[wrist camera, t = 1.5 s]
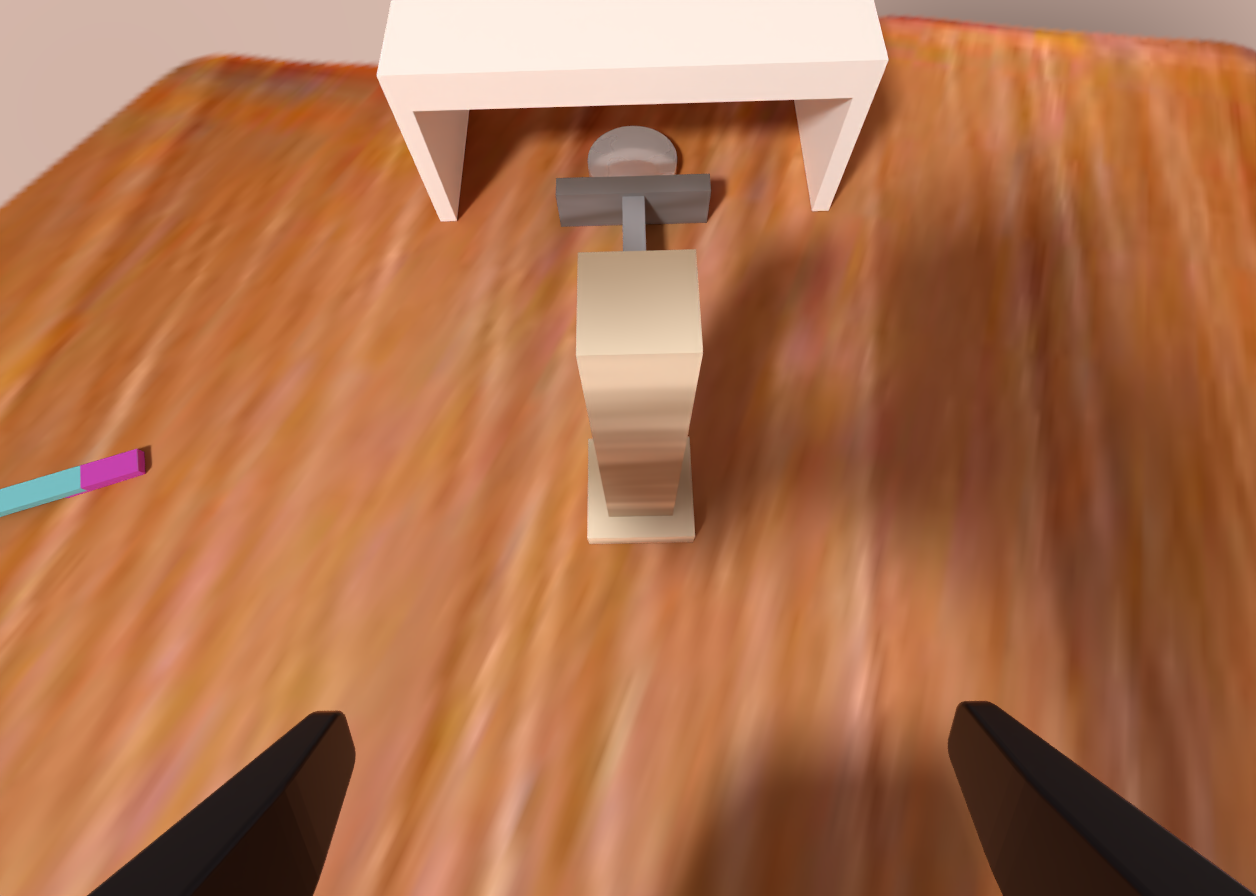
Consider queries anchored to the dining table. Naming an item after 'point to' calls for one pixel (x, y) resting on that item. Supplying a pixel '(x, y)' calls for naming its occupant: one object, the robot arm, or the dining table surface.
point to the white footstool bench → (628, 68)
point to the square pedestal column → (638, 354)
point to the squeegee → (72, 481)
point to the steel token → (632, 153)
